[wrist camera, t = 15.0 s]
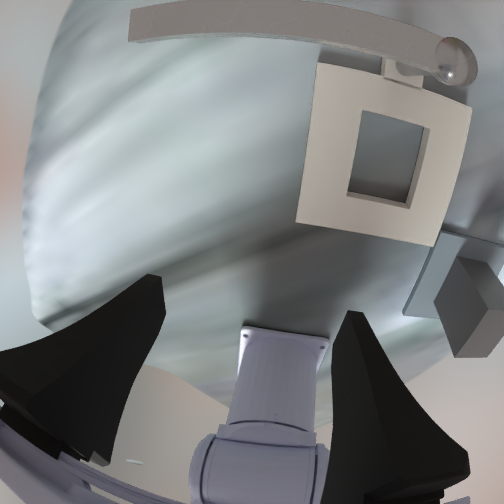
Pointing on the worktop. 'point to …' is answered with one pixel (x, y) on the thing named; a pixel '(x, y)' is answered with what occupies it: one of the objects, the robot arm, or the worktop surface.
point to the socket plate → (344, 145)
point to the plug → (471, 308)
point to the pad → (448, 268)
